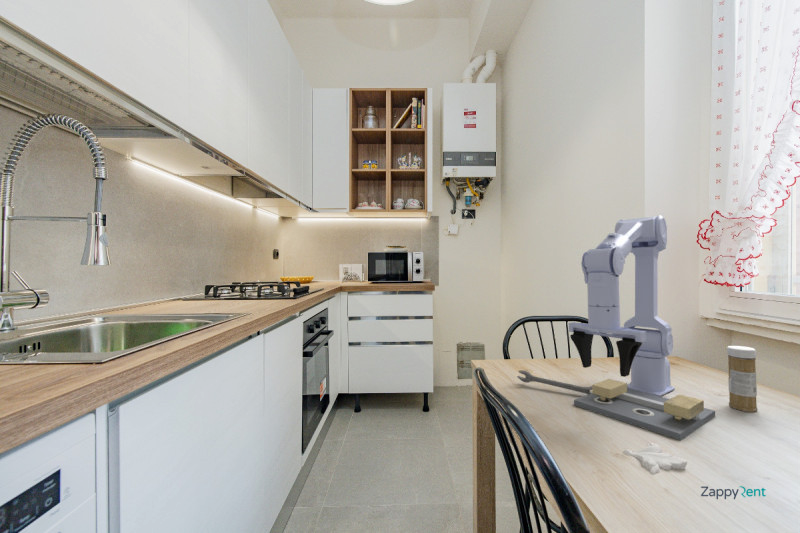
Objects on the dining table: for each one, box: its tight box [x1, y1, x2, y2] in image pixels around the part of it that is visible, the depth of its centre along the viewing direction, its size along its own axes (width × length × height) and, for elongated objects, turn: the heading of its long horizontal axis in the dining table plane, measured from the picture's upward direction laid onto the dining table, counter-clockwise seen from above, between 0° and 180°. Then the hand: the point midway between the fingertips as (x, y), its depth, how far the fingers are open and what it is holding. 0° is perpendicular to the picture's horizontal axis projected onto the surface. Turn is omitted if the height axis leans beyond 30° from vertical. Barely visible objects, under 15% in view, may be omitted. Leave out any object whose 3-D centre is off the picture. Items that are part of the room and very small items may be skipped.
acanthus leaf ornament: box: [622, 442, 688, 475], centre depth 56 cm, size 8×7×2 cm
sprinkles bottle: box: [726, 345, 758, 413], centre depth 76 cm, size 5×5×14 cm
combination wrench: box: [517, 370, 592, 395], centre depth 89 cm, size 4×1×20 cm
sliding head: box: [664, 394, 705, 422], centre depth 68 cm, size 8×4×3 cm, turn 123°
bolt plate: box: [573, 378, 716, 441], centre depth 75 cm, size 18×20×4 cm
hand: (605, 370), depth 72 cm, fingers open, 7 cm apart
